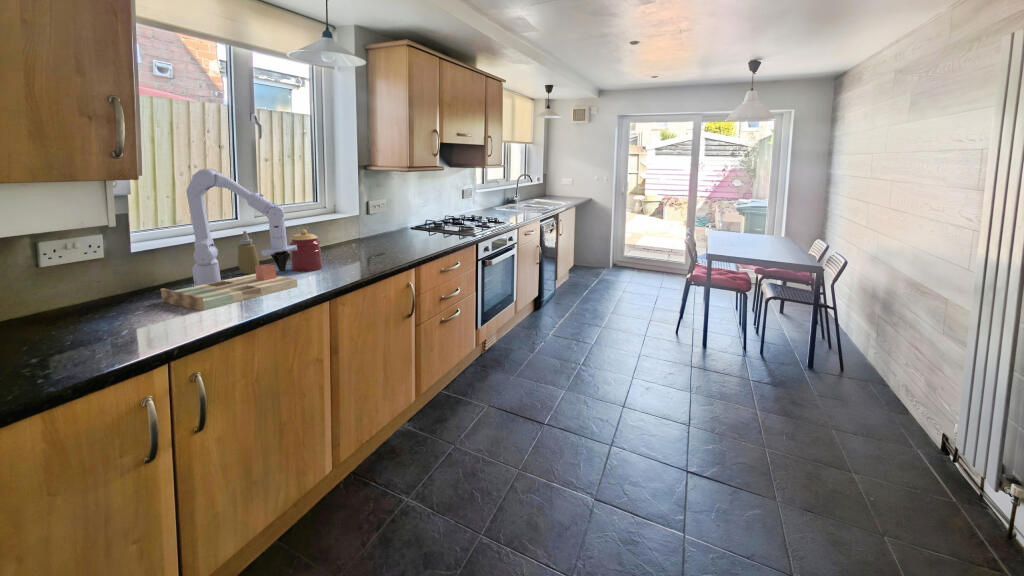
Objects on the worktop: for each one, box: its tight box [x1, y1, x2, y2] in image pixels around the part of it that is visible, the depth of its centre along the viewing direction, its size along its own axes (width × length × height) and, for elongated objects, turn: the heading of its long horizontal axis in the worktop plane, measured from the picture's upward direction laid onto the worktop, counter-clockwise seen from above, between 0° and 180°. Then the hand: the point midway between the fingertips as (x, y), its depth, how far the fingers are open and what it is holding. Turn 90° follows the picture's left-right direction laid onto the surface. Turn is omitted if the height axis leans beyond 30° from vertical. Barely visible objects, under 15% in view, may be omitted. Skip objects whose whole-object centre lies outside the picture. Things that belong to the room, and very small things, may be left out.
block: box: [255, 263, 277, 281], centre depth 191 cm, size 5×5×5 cm
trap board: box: [160, 273, 299, 312], centre depth 180 cm, size 22×37×4 cm, turn 152°
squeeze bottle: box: [237, 230, 260, 275], centre depth 211 cm, size 8×8×18 cm
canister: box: [288, 229, 323, 273], centre depth 220 cm, size 13×13×18 cm
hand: (282, 270), depth 197 cm, fingers closed
